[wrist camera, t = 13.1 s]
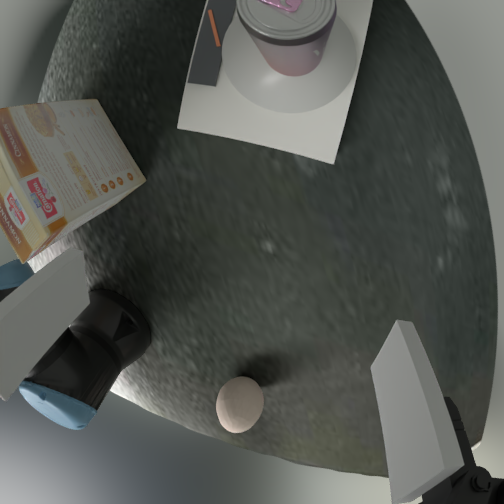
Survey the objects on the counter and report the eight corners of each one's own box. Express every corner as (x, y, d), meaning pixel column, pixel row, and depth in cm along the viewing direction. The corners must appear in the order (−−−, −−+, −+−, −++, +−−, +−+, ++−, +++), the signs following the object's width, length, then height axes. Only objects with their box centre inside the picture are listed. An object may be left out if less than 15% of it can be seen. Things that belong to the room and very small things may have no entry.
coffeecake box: (69, 127, 36) (-35, 153, 19) (98, 96, 34) (-14, 106, 16) (115, 206, 41) (21, 267, 23) (148, 180, 38) (48, 235, 21)
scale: (186, 127, 34) (173, 128, 31) (224, -27, 24) (216, -39, 21) (330, 160, 34) (334, 165, 30) (369, 0, 24) (376, -11, 20)
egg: (215, 377, 53) (199, 425, 42) (243, 359, 49) (229, 412, 39) (247, 398, 54) (236, 446, 44) (276, 382, 51) (268, 434, 40)
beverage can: (279, 18, 24) (260, -51, 10) (331, 42, 24) (354, -15, 11) (254, 62, 26) (214, 20, 13) (306, 87, 27) (311, 59, 13)
